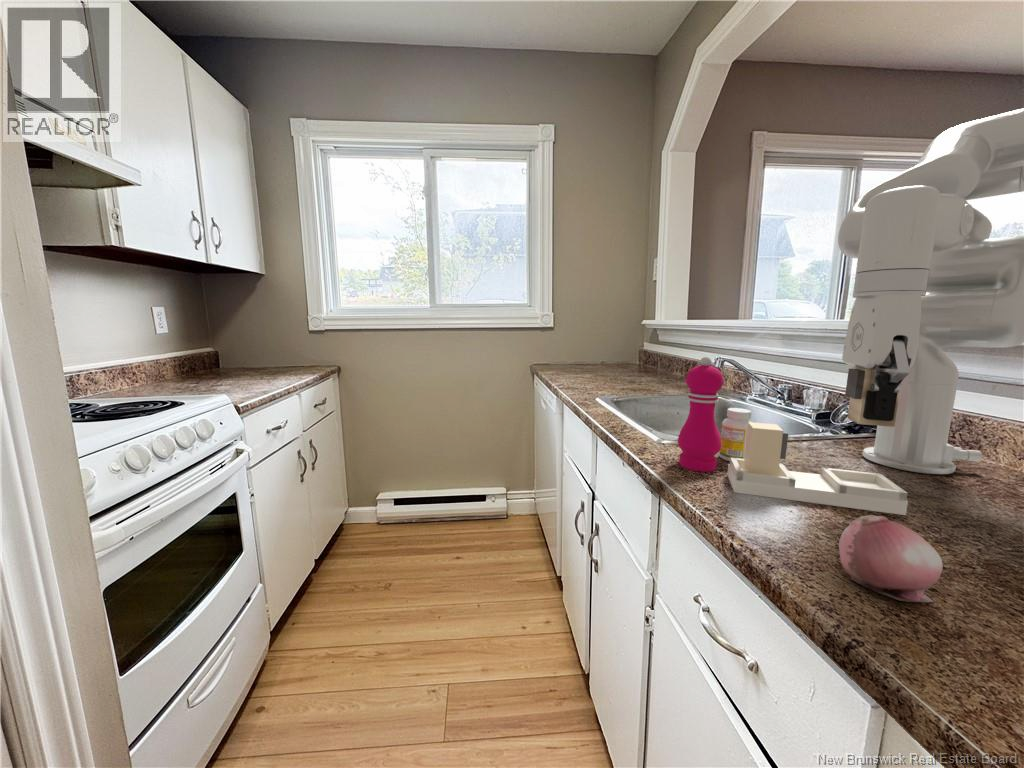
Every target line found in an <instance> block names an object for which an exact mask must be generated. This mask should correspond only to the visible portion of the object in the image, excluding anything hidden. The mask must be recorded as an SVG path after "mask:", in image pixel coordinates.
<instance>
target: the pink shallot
mask: <svg viewBox="0 0 1024 768" xmlns="http://www.w3.org/2000/svg"><path fill="white" fill-rule="evenodd" d="M838 550H839V551H838V552H839V559H840V562H841V565H842V567H843V569H844V571H845V572H846V573H847V574H848V575H849V576H850V577H849V576H846V578H847V579H849V580H851V581H854V582H856V583H857V584H859V585H861V586H863V587H864V588H866V589H868V590H872V591H874V593H875V592H876V593H878V594H881V595H884V596H887V597H889V598H892V599H895V600H898V601H901V602H909V603H923V604H930V603H935V601H934V600H932V599H931V598H930V597H929V596H928V595H926V593H925V592H927V591H928V590H930V589H931V587H932V586H933V585H935V584H936V583H937V582H938V581H939V580H940V578H941V575H942V573H943V569H944V568H943V567H944V564H943V560H942V557H941V556H940V554H939V553H938V552H937V551H936V549H935V548H934V547H933V546H932V545H931V544H930V543H929V542H928V541H927V540H926V539H924V538H923V537H922V536H921V535H919V534H918V533H916V532H915V531H913V530H912V529H911V528H909V527H908V526H907V527H906V526H905V525H903V524H900V523H898V522H896V521H892V520H890V519H888V517H886V516H884V515H878V516H877V515H874V514H868V515H863V516H860V517H859V516H858V517H857V518H855V519H853V520H852V521H851V522H850V523H849V525H848V526H847V527H846V528H845V529H844V530H843V531H842V533H841V535H840V538H839V543H838Z"/></svg>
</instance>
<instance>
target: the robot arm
mask: <svg viewBox="0 0 1024 768" xmlns="http://www.w3.org/2000/svg"><path fill="white" fill-rule="evenodd" d="M1023 192H1024V107H1023V108H1019V109H1015V110H1012V111H1007V112H1003V113H1000V114H997V115H992V116H988V117H984V118H981V119H979V118H978V119H976V120H972V121H968V122H965V123H961V124H959V125H956V126H954V127H950V128H948V129H947V130H945V131H943V132H942V133H940V134H938V136H936V137H935V138H933V140H932V141H931V142H930V143H929V145H928V146H927V147H926V149H925V150H924V151H923V154H921V156H920V158H919V160H918V161H917V163H916V164H915V166H914V167H911V168H908V169H907V170H905V171H902V172H900V173H899V174H896V175H895V176H893V177H891V178H890V179H889V178H888V179H887V180H886V181H883V182H881V183H879V184H876V186H874V187H871V188H870V189H869V190H867V191H866V192H864V193H863V194H861V195H860V196H859V197H858V198H857V200H855V202H854V203H853V204H852V206H851V207H850V208H849V210H848V211H847V213H846V215H845V216H844V218H843V220H842V222H841V224H840V226H839V227H840V228H839V230H838V235H837V239H838V240H837V242H838V248H839V251H841V252H842V254H843V255H845V257H847V258H852V259H857V261H856V270H855V275H854V276H855V277H854V283H853V291H852V298H854V303H853V306H852V309H851V313H850V316H849V320H848V325H847V330H846V335H845V340H844V345H843V350H842V351H843V352H842V356H841V357H842V358H841V359H842V361H843V362H844V364H846V365H849V366H852V369H854V367H855V366H856V367H861V368H867V369H871V368H872V371H871V391H869V390H867V393H866V400H865V406H864V413H863V417H864V418H865V419H868V420H881V421H892V420H893V419H894V412H895V406H896V400H897V393H898V392H899V391H900V395H899V401H898V408H897V414H896V420H895V427H890V426H877V425H876V431H875V441H874V445H873V446H872V447H871V446H870V447H865V448H864V449H863V450H862V456H863V457H864V458H865V459H866V460H868V461H870V462H873V463H875V464H879V465H881V466H885V467H888V468H892V469H895V470H900V471H906V472H912V473H920V474H926V475H927V474H929V475H950V474H954V473H955V472H956V468H957V466H956V464H955V463H954V462H956V461H958V460H963V461H969V462H977V463H978V462H981V461H982V459H983V453H982V451H980V450H977V449H974V450H973V449H963V448H962V447H957V446H954V445H952V444H950V443H948V439H949V435H950V428H951V423H952V418H953V410H954V407H955V400H956V394H957V388H958V382H959V377H960V376H959V374H960V373H959V370H958V367H957V365H956V364H955V363H954V361H953V360H952V359H951V358H950V357H949V356H948V354H946V353H945V352H944V350H943V349H942V348H944V347H962V348H964V347H967V348H992V349H993V348H994V349H995V348H996V349H1001V348H1002V349H1003V348H1004V349H1006V348H1013V347H1016V346H1020V345H1022V344H1024V235H1020V236H1019V235H1017V236H1007V237H1006V236H1005V237H998V238H996V237H995V238H990V236H991V232H992V229H993V225H992V223H991V221H990V219H989V218H988V217H987V216H985V215H984V214H983V213H982V212H981V211H980V210H978V209H976V208H974V207H973V205H971V204H970V203H969V202H968V201H971V200H976V199H983V198H990V197H997V196H1003V195H1008V194H1014V193H1023ZM879 366H884V367H889V368H879ZM890 368H891V369H890ZM880 373H885V374H884V375H883V376H882V377H881V379H880ZM900 383H901V388H900Z"/></svg>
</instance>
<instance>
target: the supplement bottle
mask: <svg viewBox="0 0 1024 768" xmlns="http://www.w3.org/2000/svg"><path fill="white" fill-rule="evenodd" d="M726 417H727V418H724V420H723V421H722V422H721V430H720V432H721V433H720V437H721V444H722V447H721V450H720V451H719V452H718V453H719V458H721V459H723V461H727V462H730V458H740V459H744V458H745V448H746V438H747V428H748V422H751V421H750V419H751V418H752V411H751V410H750V409H746V408H741V407H729V408H727V410H726Z"/></svg>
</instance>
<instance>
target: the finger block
mask: <svg viewBox="0 0 1024 768" xmlns="http://www.w3.org/2000/svg"><path fill="white" fill-rule="evenodd" d="M879 368H889V367H884V366H879ZM890 369H891V368H890ZM871 371H872V368H871V369H867V368H861V367H856V366H855V367H854V369H853V368H848V372H847V379H846V386H845V394H844V396H846V397H849V404H848V409H847V410H848V411H847V417H846V418H847V419H848V420H850V421H852V422H854V423H857V424H858V425H868V426H876V427H877V426H890V427H895V420H896V414H897V408H898V401H899V395H900V391H899V392H898V393H897V400H896V406H895V412H894V419H893V420H892V421H881V420H868V419H865V418H864V417H863V413H864V406H865V400H866V393H867V390H869V391H871ZM884 374H885V373H880V379H881V377H882V376H883V375H884ZM900 388H901V383H900Z"/></svg>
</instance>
